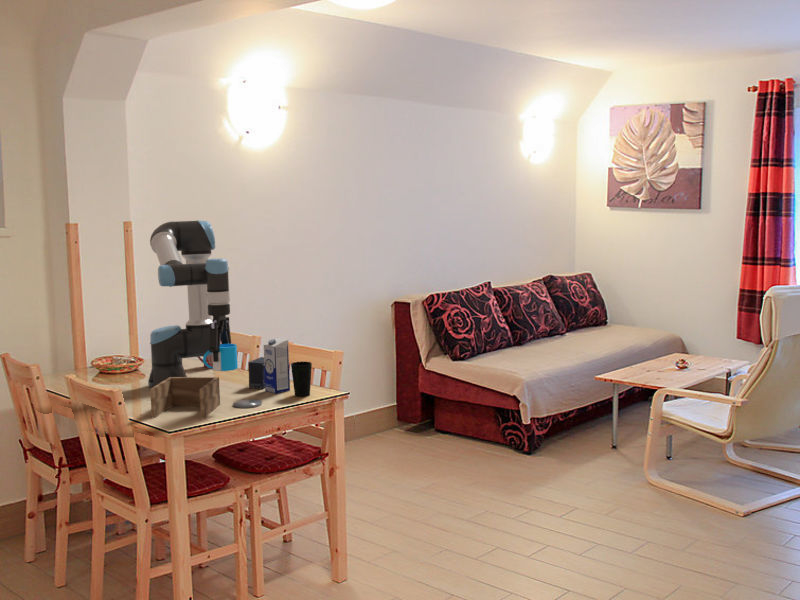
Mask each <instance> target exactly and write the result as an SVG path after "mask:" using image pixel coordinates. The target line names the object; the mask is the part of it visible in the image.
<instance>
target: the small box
mask: <svg viewBox="0 0 800 600" xmlns="http://www.w3.org/2000/svg"><path fill="white" fill-rule="evenodd" d="M247 363H248V389H255V390H256V389H257V390H258V389H259V390H260V389H261V390H264V389H265V368H264V356H261V357H258V358H256V359H253V360H250V361H248V362H247Z"/></svg>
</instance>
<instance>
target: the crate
mask: <svg viewBox="0 0 800 600" xmlns="http://www.w3.org/2000/svg"><path fill="white" fill-rule="evenodd" d="M149 389H150V388H149ZM149 393H150V394H149V395H150V408H151V409H150V410H151V418H152V419H155V418H157V417H159V415H162V413H164V412H166V411H167V410H168V409H170V408H171V407H172V406H199V407H200V419H205V418H206V417H208V415H210V414H211V413H212V412H213V411H214V410H215V409H217V408H218V407H219V406H220V405H221V397H220V395H221V394H220V377H219V376H193V377H192V376H187V377H169V378H168V379H166V380H164V381H163V382H161V383H159V384H158V385H156V386H154V387H153V388H151V389H150V390H149Z"/></svg>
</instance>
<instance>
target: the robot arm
mask: <svg viewBox="0 0 800 600" xmlns="http://www.w3.org/2000/svg"><path fill="white" fill-rule="evenodd" d="M213 229H214V228H213V227H212V224H211V223H210V222H209V221H207V220H185V221H184V220H182V221H181V220H180V221H179V220H178V221H173V220H172V221H168V222H164V223H162V224H160V225H159V226H158V227H156V228H155V229H154V230H153V232H152V233H151V234H150V235H151V236H150V239H149V245H150V248H151V250H152V251H153V252H154V253H155V254H156V256H157V259H158V262H159V266H158V268H157V279H158V283H159V286H161V287H170V288H171V287H183V286H186V287H187V302H188V305H187V306H188V321H186V322H185V328H182V327H181V326H180V325H178V324H177V325H167V326H163V327H158V328H156V329H154V330H152V331H151V333H150V337H149V338H150V342H149V344H150V353H151V355H150V357H151V370H150V374H149V378H148V381H147V384H148V388H149V389H151V388H153V387H154V386H156V385H158V384H159V383H161V382H163V381H164V380H166V379H168V378H169V377H188V376H187V373H186V370H185V369H184V366H183V359H187V358H188V359H189V358H198V357H200V358H202V357H203V356H204V355H205V353H206V352H207V351H209V352H210V353H209V354H208V355H207V356H211V355H212V357H213V369H212V371H213V372H222V371H221V352H219V350H220V340H221V344H232V338H231V337H232V336H231V327H230V317H229V316H228V315H230V314H231V304H230V283H229V266H228V264H229V263H228V260H227V259H226V258H210V257H211V256H212V251H214V250H216V238H215V234H214V230H213ZM179 252H181V256H180V253H179ZM181 257H182V258H184V259H185V263H183V261H182V258H181Z"/></svg>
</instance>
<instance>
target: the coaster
mask: <svg viewBox="0 0 800 600" xmlns="http://www.w3.org/2000/svg"><path fill="white" fill-rule="evenodd" d="M262 403H263V402H262V401H261V400H259V399H240V400H236V401H234V402H233V403H232V406H233V407H234V408H237V409H252V408H257V407H259V406H261V405H263V404H262Z"/></svg>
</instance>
